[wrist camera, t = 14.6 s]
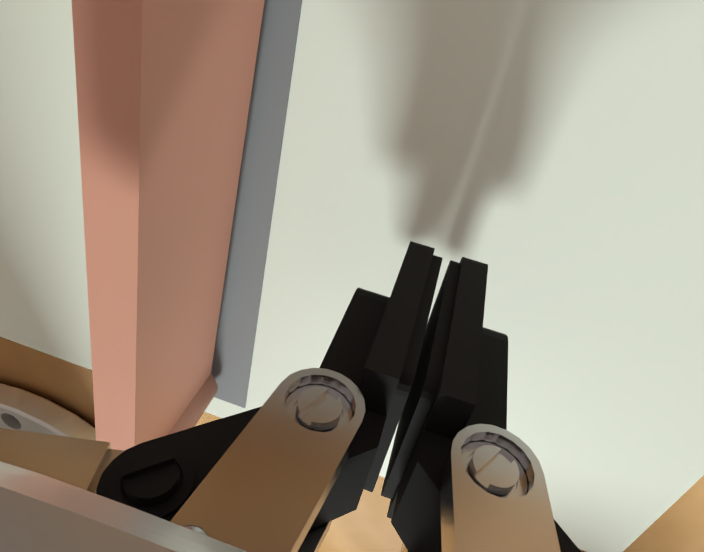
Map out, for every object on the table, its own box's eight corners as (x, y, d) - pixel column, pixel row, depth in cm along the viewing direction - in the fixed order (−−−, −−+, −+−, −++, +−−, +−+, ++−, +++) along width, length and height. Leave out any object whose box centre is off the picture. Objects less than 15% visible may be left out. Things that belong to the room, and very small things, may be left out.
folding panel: (215, -188, 8) (-21, -309, 5) (305, -160, 8) (137, -259, 4) (170, 387, 17) (73, 513, 13) (214, 405, 17) (129, 537, 13)
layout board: (611, 552, 17) (613, 563, 16) (-120, 285, 19) (-129, 290, 19) (1313, -131, 6) (1353, -136, 6) (-441, -509, 9) (-474, -525, 9)
